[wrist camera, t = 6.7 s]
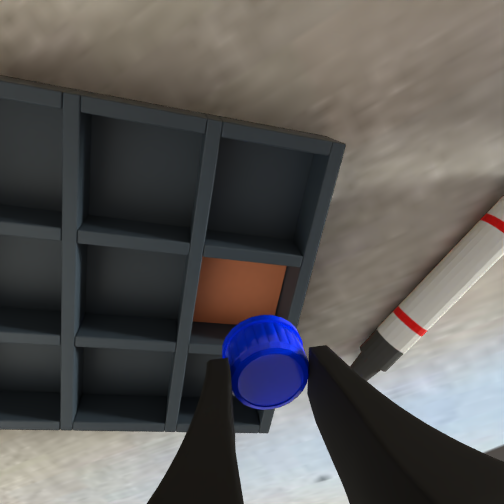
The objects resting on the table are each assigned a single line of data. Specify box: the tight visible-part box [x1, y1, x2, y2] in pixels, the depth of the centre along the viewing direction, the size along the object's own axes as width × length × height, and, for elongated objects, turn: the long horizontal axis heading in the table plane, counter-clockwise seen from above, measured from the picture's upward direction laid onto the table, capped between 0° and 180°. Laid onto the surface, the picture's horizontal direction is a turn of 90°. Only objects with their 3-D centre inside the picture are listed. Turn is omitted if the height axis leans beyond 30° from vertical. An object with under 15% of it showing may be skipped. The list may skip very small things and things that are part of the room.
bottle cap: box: [222, 315, 309, 410], centre depth 14 cm, size 3×3×2 cm
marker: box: [350, 195, 504, 381], centre depth 22 cm, size 15×2×2 cm, turn 142°
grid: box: [0, 75, 346, 433], centre depth 18 cm, size 16×16×2 cm
